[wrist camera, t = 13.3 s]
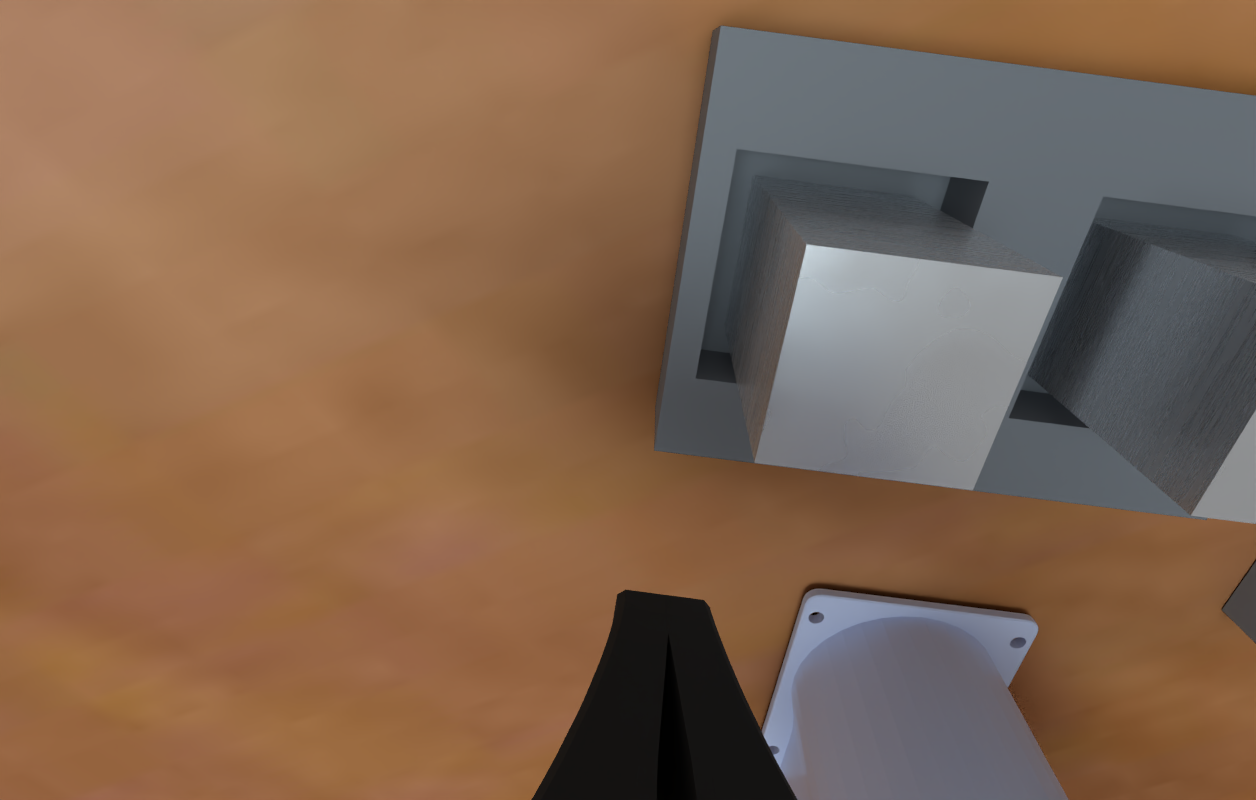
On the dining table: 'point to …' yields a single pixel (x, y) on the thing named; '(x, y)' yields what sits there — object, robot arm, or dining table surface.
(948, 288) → the block
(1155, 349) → the billet
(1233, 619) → the shallow grey tray
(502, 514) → the dining table surface
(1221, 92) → the frame
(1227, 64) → the dining table surface
